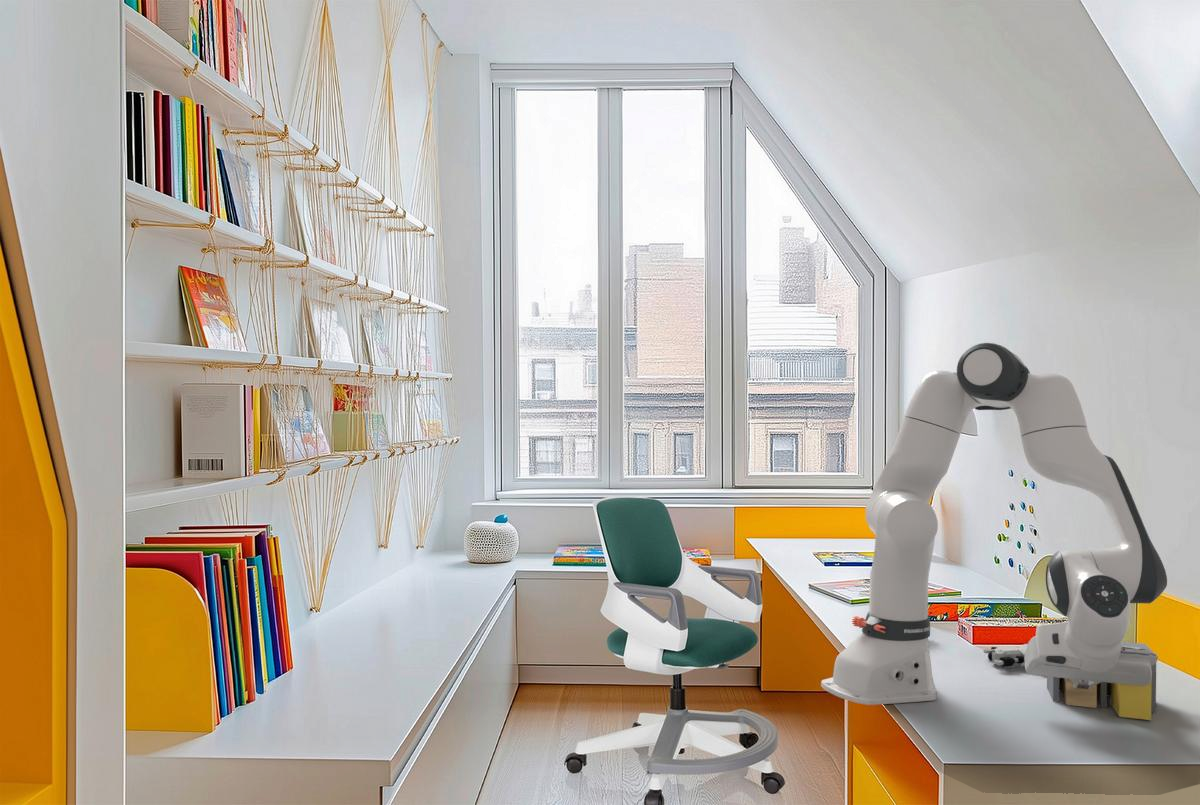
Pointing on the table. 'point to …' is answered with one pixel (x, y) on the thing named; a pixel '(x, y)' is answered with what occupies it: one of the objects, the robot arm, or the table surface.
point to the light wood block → (1078, 694)
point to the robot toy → (1007, 655)
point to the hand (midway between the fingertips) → (1081, 685)
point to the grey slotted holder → (1105, 684)
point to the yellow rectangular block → (1132, 700)
